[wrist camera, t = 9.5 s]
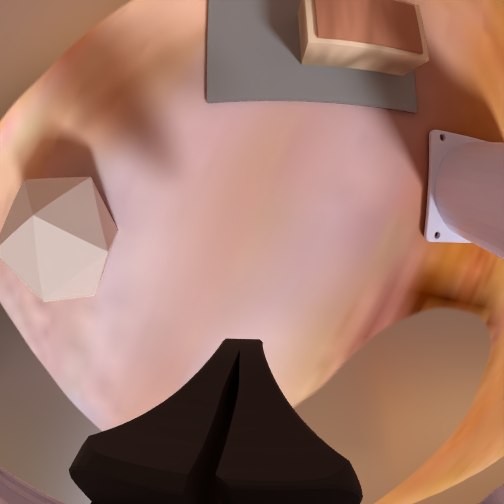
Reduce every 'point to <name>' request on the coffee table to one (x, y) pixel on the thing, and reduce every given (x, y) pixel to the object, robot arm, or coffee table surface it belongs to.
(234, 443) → the robot arm
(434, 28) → the coffee table surface
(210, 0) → the slate mat
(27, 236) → the die
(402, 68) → the maple block
